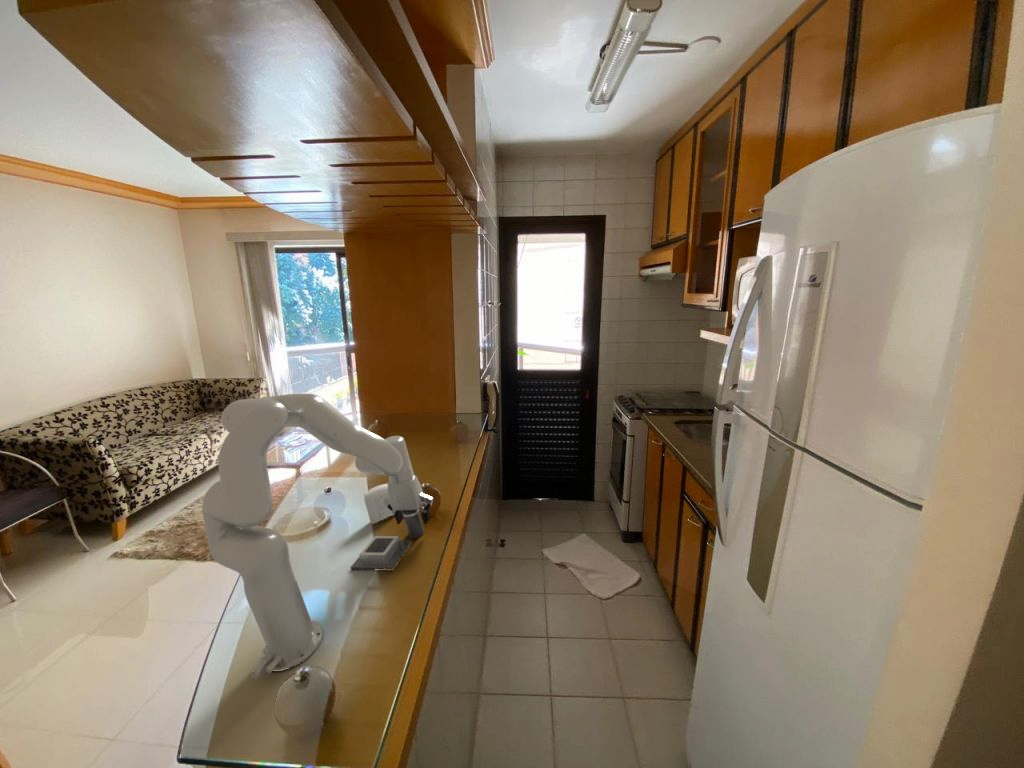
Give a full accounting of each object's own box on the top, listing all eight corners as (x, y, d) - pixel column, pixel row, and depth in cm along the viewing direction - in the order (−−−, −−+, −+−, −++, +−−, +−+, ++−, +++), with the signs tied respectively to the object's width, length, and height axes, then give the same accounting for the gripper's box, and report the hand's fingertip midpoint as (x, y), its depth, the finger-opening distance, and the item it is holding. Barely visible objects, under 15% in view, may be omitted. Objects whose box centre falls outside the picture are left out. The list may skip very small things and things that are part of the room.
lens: (420, 538, 126) (413, 514, 124) (405, 538, 128) (399, 514, 126) (426, 528, 131) (420, 504, 129) (413, 528, 133) (406, 505, 130)
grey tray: (393, 571, 113) (389, 559, 112) (351, 569, 117) (347, 558, 116) (412, 543, 125) (409, 532, 124) (373, 543, 128) (370, 532, 127)
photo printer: (397, 508, 147) (389, 479, 144) (400, 513, 143) (392, 483, 140) (369, 521, 142) (360, 490, 138) (372, 526, 138) (363, 495, 135)
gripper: (370, 482, 123) (384, 528, 127) (420, 480, 118) (433, 528, 123) (383, 470, 130) (396, 514, 134) (430, 467, 125) (442, 514, 130)
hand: (413, 521), depth 129 cm, fingers open, 9 cm apart
